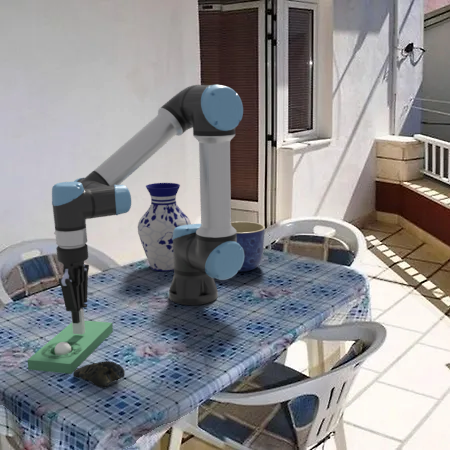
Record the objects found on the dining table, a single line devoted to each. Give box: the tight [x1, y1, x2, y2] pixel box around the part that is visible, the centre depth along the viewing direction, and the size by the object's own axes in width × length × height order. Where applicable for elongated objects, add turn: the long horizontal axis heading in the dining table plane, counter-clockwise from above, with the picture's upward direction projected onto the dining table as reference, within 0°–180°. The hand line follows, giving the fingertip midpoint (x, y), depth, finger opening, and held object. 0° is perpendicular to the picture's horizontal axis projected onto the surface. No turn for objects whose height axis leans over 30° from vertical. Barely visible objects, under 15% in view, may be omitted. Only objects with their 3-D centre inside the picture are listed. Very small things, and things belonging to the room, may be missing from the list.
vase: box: [137, 182, 191, 273], centre depth 219 cm, size 19×19×30 cm
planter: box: [231, 221, 266, 272], centre depth 219 cm, size 17×17×15 cm
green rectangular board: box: [27, 320, 114, 375], centre depth 156 cm, size 25×11×2 cm, turn 168°
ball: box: [54, 342, 71, 355], centre depth 150 cm, size 4×4×4 cm
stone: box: [72, 360, 125, 388], centre depth 139 cm, size 7×13×5 cm, turn 66°
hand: (79, 332), depth 158 cm, fingers closed
